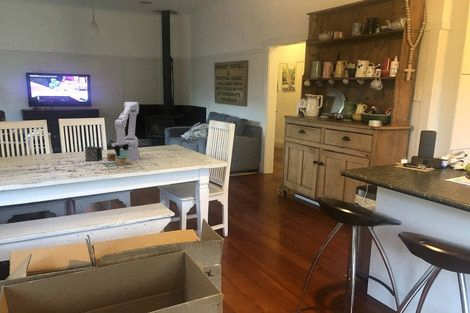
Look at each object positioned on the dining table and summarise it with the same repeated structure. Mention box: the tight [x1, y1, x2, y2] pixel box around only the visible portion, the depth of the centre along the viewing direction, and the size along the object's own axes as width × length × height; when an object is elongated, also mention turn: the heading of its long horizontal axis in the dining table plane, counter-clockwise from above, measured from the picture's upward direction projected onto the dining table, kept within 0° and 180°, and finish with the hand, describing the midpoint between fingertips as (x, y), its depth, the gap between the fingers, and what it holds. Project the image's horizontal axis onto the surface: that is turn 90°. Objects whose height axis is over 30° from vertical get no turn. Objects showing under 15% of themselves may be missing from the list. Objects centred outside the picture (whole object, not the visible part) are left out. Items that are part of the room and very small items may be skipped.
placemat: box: [102, 161, 134, 168], centre depth 253 cm, size 18×14×1 cm
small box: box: [84, 145, 103, 162], centre depth 265 cm, size 11×6×10 cm, turn 74°
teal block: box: [115, 148, 127, 159], centre depth 253 cm, size 6×6×6 cm
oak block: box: [114, 158, 130, 166], centre depth 254 cm, size 7×7×4 cm
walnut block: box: [106, 152, 116, 162], centre depth 265 cm, size 6×6×6 cm
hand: (121, 155), depth 253 cm, fingers closed on teal block, 5 cm apart
